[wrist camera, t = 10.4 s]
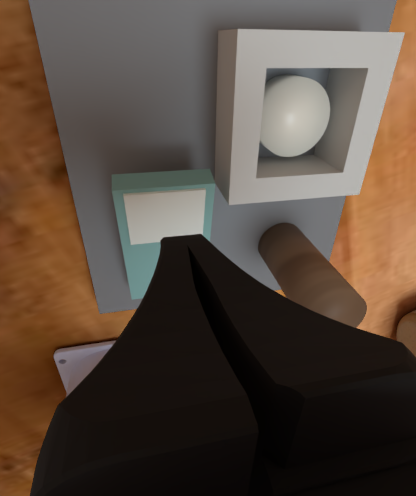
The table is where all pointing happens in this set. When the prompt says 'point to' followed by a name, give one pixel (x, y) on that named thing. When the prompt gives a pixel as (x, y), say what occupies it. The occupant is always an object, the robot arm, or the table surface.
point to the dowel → (309, 275)
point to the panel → (212, 112)
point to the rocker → (159, 216)
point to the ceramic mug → (408, 331)
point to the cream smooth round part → (293, 114)
